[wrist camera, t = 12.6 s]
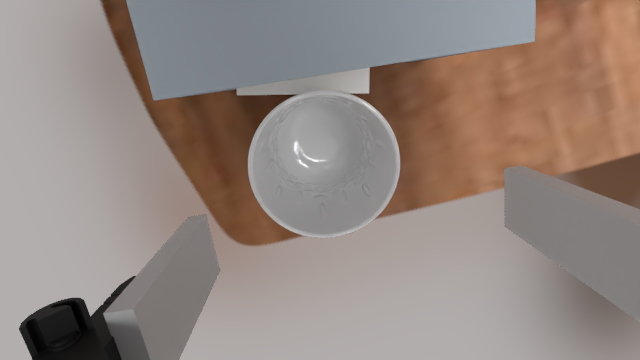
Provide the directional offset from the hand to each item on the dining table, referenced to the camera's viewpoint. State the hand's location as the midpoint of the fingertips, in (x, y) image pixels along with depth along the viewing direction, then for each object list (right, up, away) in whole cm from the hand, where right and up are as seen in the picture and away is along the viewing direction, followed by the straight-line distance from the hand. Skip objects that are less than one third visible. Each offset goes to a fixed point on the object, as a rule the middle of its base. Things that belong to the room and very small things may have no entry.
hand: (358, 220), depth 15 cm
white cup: (-2, +5, +13) cm, 14 cm away
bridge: (-2, +12, +10) cm, 16 cm away
